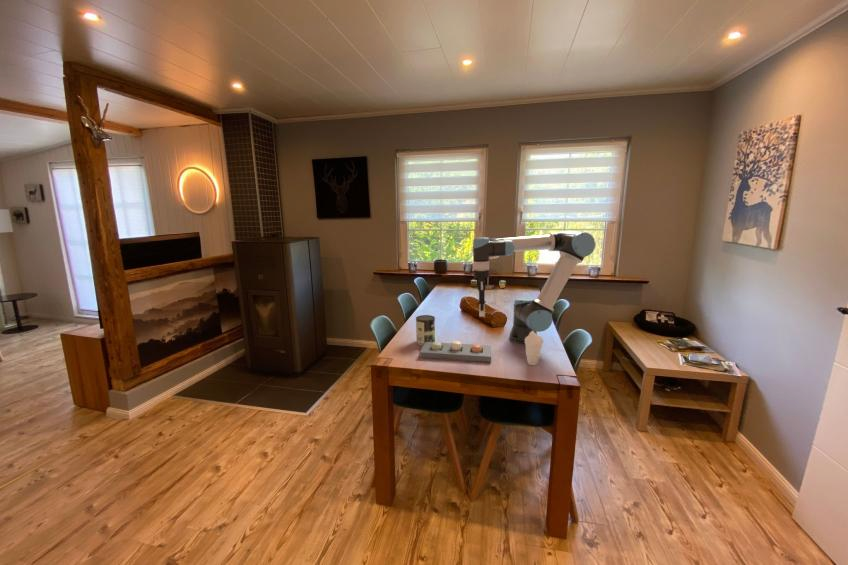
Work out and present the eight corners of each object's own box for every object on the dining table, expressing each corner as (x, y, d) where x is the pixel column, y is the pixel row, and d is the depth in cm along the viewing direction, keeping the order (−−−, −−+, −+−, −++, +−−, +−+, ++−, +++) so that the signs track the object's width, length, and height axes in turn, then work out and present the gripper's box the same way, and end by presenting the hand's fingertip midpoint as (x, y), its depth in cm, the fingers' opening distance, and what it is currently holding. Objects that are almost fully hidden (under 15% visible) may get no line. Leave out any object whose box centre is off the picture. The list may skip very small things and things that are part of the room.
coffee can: (436, 339, 192) (436, 315, 190) (433, 346, 182) (433, 321, 180) (418, 338, 194) (418, 314, 192) (414, 345, 184) (413, 320, 182)
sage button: (441, 349, 175) (441, 342, 174) (440, 353, 170) (440, 345, 170) (432, 349, 176) (432, 341, 175) (430, 352, 171) (430, 345, 171)
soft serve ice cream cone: (538, 359, 165) (539, 327, 162) (544, 367, 157) (546, 333, 153) (520, 360, 164) (522, 328, 161) (526, 367, 156) (528, 334, 153)
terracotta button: (481, 352, 172) (481, 344, 171) (481, 356, 167) (481, 348, 166) (471, 351, 173) (471, 343, 172) (471, 355, 168) (471, 347, 167)
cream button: (461, 348, 173) (461, 341, 172) (460, 352, 168) (461, 344, 168) (451, 348, 174) (451, 340, 173) (450, 351, 169) (450, 344, 169)
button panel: (490, 351, 175) (490, 345, 175) (491, 362, 162) (491, 356, 161) (425, 347, 181) (425, 341, 181) (420, 358, 168) (420, 352, 167)
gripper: (473, 267, 174) (474, 312, 178) (473, 272, 161) (474, 320, 166) (488, 267, 173) (489, 312, 177) (489, 271, 160) (490, 320, 165)
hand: (482, 316), depth 172 cm, fingers closed
